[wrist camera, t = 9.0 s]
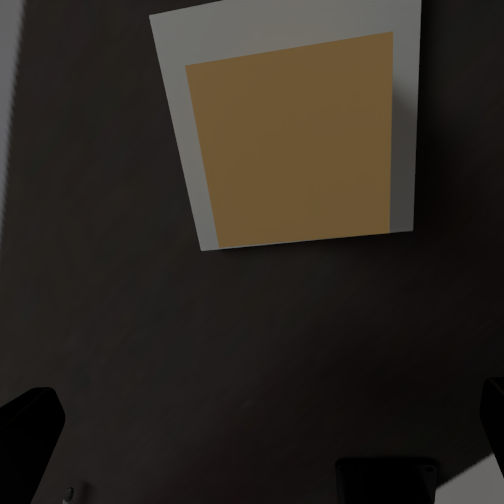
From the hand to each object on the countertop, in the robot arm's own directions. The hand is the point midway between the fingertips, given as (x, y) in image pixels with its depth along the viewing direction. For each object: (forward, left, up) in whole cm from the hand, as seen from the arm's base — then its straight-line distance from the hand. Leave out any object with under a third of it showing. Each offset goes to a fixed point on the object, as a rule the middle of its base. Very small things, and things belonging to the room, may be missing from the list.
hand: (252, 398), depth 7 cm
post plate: (+4, -1, -12) cm, 12 cm away
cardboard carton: (+4, -1, -10) cm, 11 cm away
